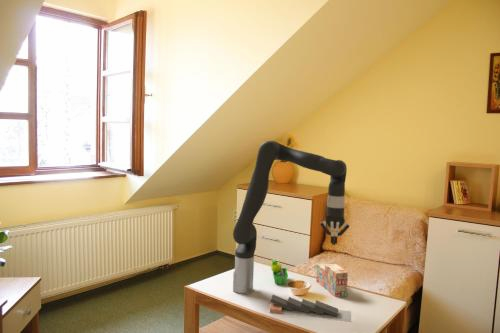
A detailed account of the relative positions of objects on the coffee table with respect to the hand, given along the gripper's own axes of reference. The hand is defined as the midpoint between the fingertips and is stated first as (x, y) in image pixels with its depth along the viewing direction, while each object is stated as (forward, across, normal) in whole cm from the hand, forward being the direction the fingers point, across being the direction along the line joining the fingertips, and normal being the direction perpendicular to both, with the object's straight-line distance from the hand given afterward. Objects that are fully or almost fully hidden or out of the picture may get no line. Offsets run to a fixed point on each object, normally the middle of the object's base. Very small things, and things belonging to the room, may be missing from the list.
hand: (333, 244), depth 173 cm
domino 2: (+28, -16, -7) cm, 33 cm away
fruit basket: (+29, -27, +25) cm, 47 cm away
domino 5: (+28, +3, -7) cm, 29 cm away
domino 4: (+28, -3, -7) cm, 29 cm away
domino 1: (+28, -23, -12) cm, 38 cm away
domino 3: (+28, -9, -7) cm, 30 cm away
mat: (+29, -7, -7) cm, 31 cm away
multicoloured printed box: (+29, 0, +23) cm, 37 cm away
